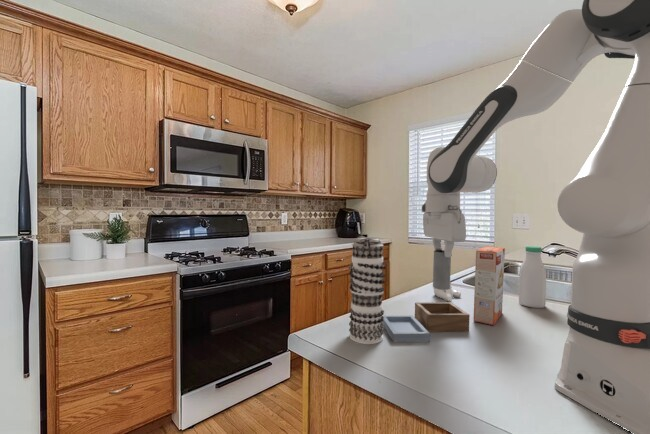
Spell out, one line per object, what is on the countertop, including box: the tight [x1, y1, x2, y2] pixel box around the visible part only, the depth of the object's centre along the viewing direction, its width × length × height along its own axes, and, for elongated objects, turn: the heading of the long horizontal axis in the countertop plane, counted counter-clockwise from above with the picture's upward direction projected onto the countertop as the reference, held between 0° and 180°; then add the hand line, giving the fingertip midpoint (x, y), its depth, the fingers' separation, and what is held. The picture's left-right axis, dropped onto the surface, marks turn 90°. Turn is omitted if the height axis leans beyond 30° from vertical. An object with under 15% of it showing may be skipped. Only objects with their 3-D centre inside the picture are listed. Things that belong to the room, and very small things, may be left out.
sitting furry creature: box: [433, 281, 462, 302], centre depth 118 cm, size 10×9×12 cm
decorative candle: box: [348, 237, 387, 345], centre depth 80 cm, size 9×9×25 cm
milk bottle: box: [518, 245, 547, 309], centre depth 109 cm, size 8×8×20 cm
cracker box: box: [473, 246, 506, 326], centre depth 96 cm, size 14×6×21 cm, turn 143°
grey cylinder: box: [432, 249, 452, 290], centre depth 89 cm, size 4×4×10 cm
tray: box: [382, 314, 431, 343], centre depth 85 cm, size 13×9×2 cm
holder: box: [414, 301, 470, 333], centre depth 90 cm, size 11×11×4 cm
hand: (442, 255), depth 89 cm, fingers closed on grey cylinder, 4 cm apart
